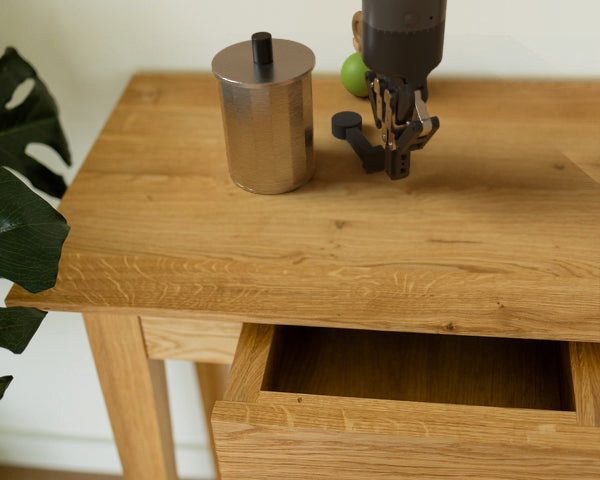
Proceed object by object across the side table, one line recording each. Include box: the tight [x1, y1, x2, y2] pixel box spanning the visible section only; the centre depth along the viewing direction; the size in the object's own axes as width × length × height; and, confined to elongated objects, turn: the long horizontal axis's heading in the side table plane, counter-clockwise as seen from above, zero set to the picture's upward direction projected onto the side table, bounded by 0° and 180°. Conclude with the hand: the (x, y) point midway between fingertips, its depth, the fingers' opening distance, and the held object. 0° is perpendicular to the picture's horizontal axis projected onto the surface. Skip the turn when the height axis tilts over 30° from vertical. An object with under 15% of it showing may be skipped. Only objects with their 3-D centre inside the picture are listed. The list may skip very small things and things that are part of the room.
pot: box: [216, 72, 316, 195], centre depth 80 cm, size 9×9×12 cm
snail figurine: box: [340, 10, 370, 98], centre depth 92 cm, size 5×6×12 cm
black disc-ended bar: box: [330, 110, 385, 174], centre depth 86 cm, size 4×11×2 cm, turn 18°
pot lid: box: [210, 31, 316, 89], centre depth 75 cm, size 10×10×4 cm
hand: (396, 175), depth 80 cm, fingers closed
